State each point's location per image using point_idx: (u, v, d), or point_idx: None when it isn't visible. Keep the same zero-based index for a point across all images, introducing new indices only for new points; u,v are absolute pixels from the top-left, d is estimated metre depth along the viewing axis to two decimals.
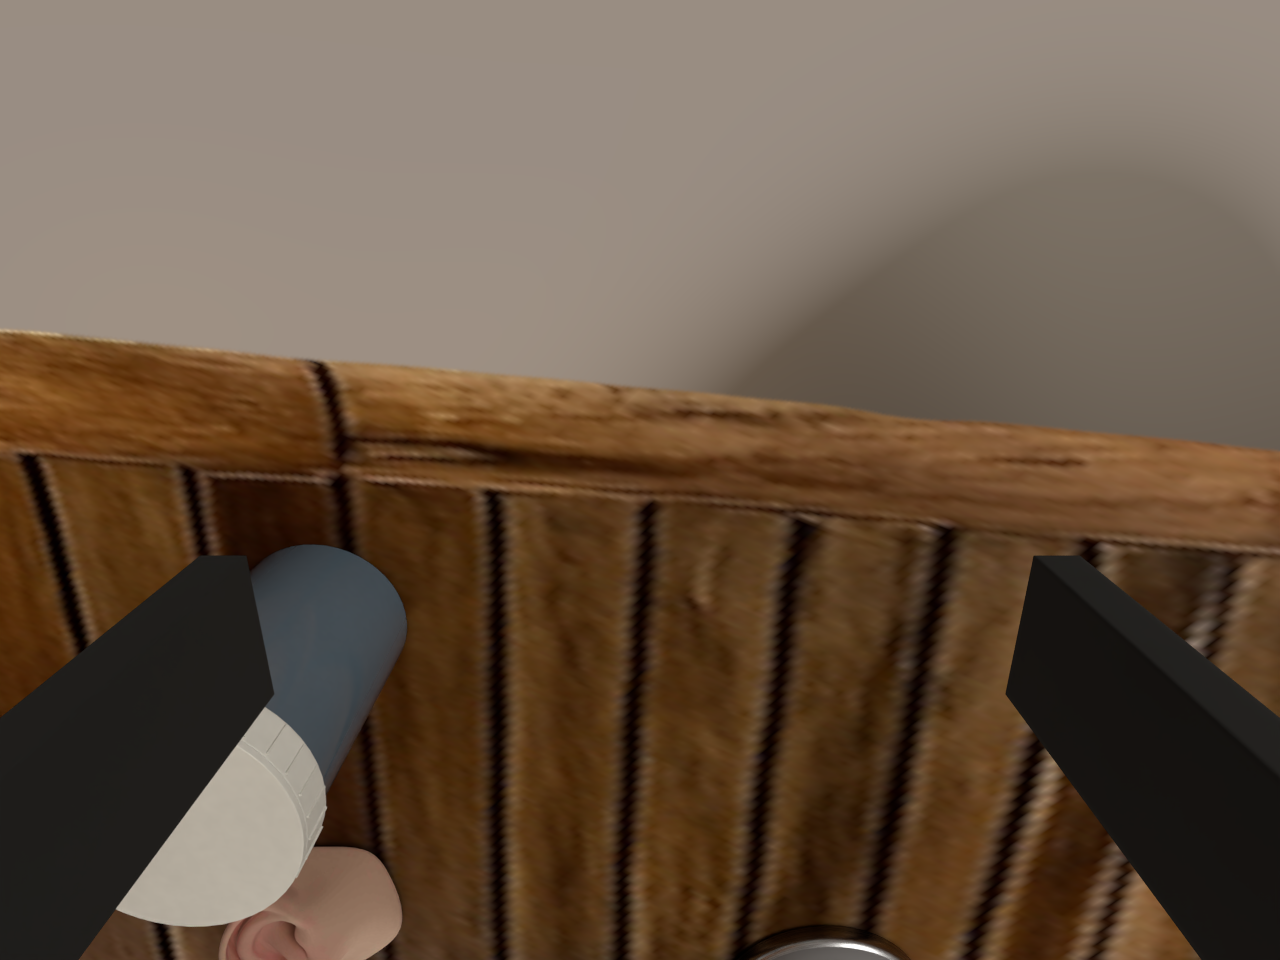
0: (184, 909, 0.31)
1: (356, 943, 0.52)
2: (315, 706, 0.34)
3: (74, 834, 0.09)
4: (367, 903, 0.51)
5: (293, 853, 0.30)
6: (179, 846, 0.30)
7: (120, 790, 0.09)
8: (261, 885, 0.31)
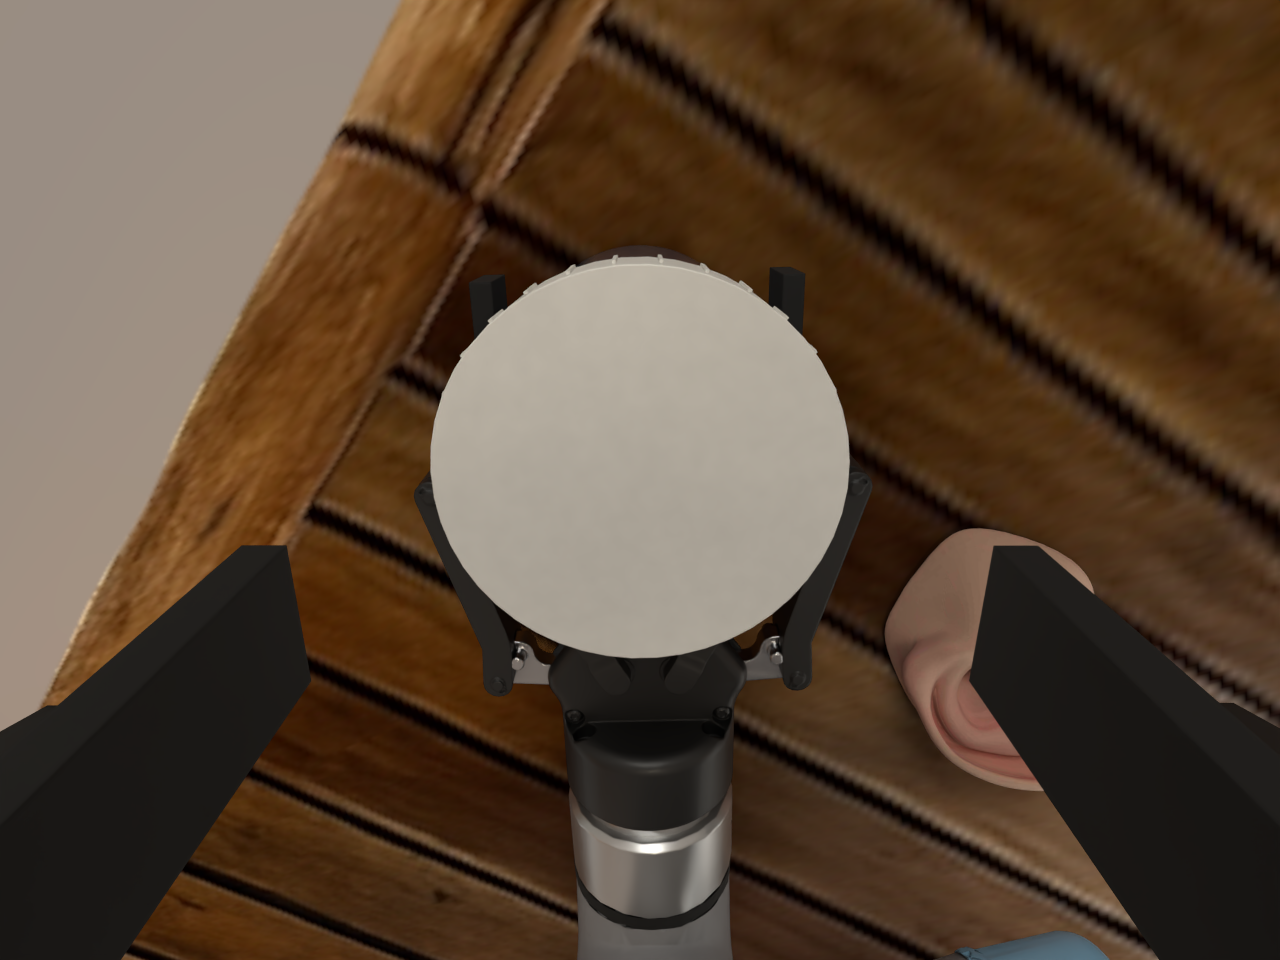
0: (776, 563, 0.20)
1: None
2: None
3: (138, 808, 0.09)
4: None
5: (787, 343, 0.18)
6: (677, 487, 0.19)
7: (177, 768, 0.10)
8: (808, 432, 0.19)
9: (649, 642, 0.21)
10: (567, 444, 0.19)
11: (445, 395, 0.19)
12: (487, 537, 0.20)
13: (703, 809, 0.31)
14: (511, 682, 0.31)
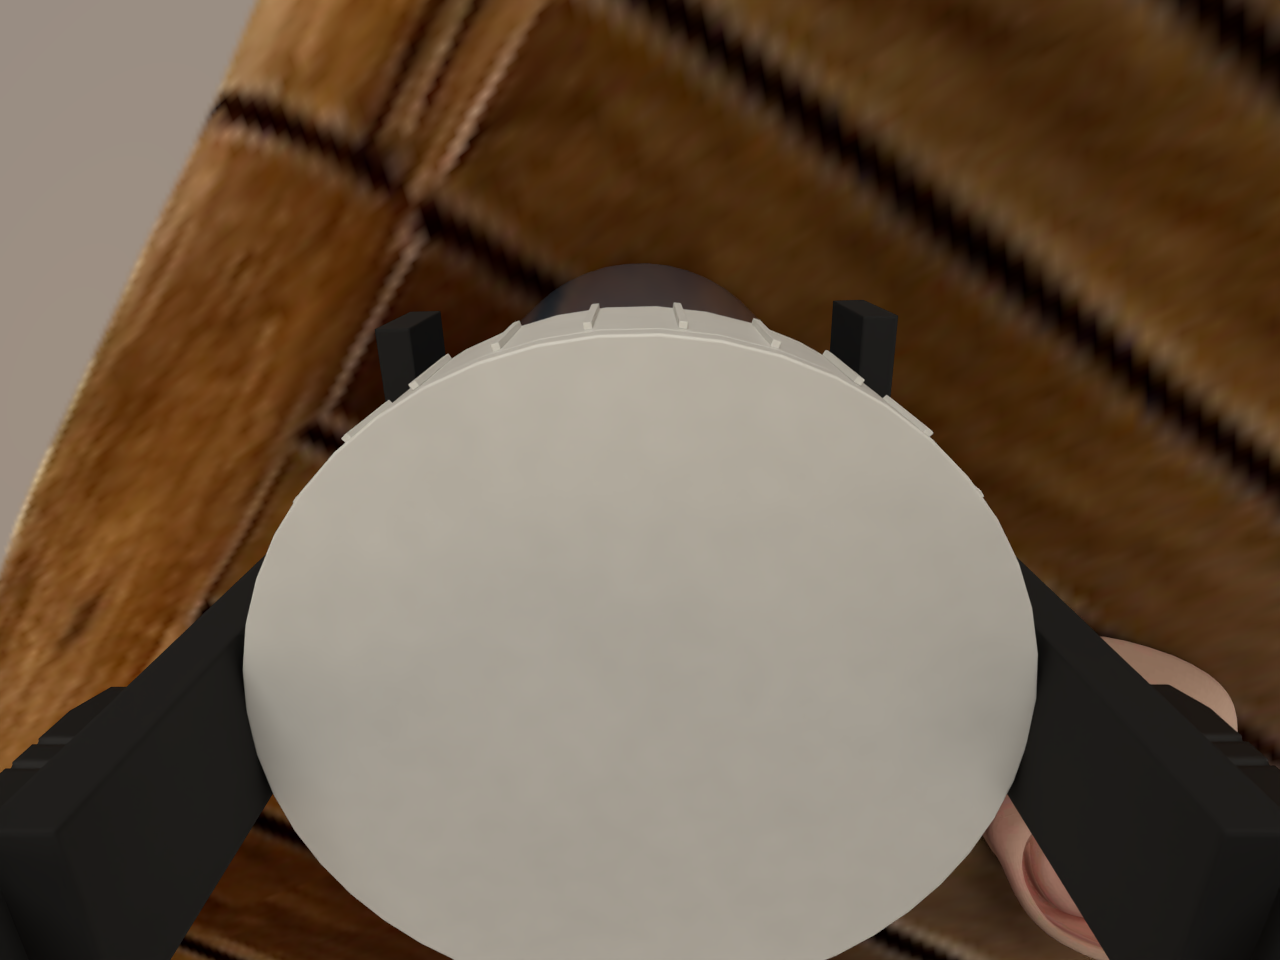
0: (887, 859, 0.11)
1: None
2: None
3: (204, 784, 0.09)
4: None
5: (934, 488, 0.09)
6: (710, 739, 0.10)
7: (237, 747, 0.10)
8: (963, 647, 0.10)
9: None
10: (501, 667, 0.10)
11: (261, 581, 0.10)
12: (360, 818, 0.11)
13: None
14: None
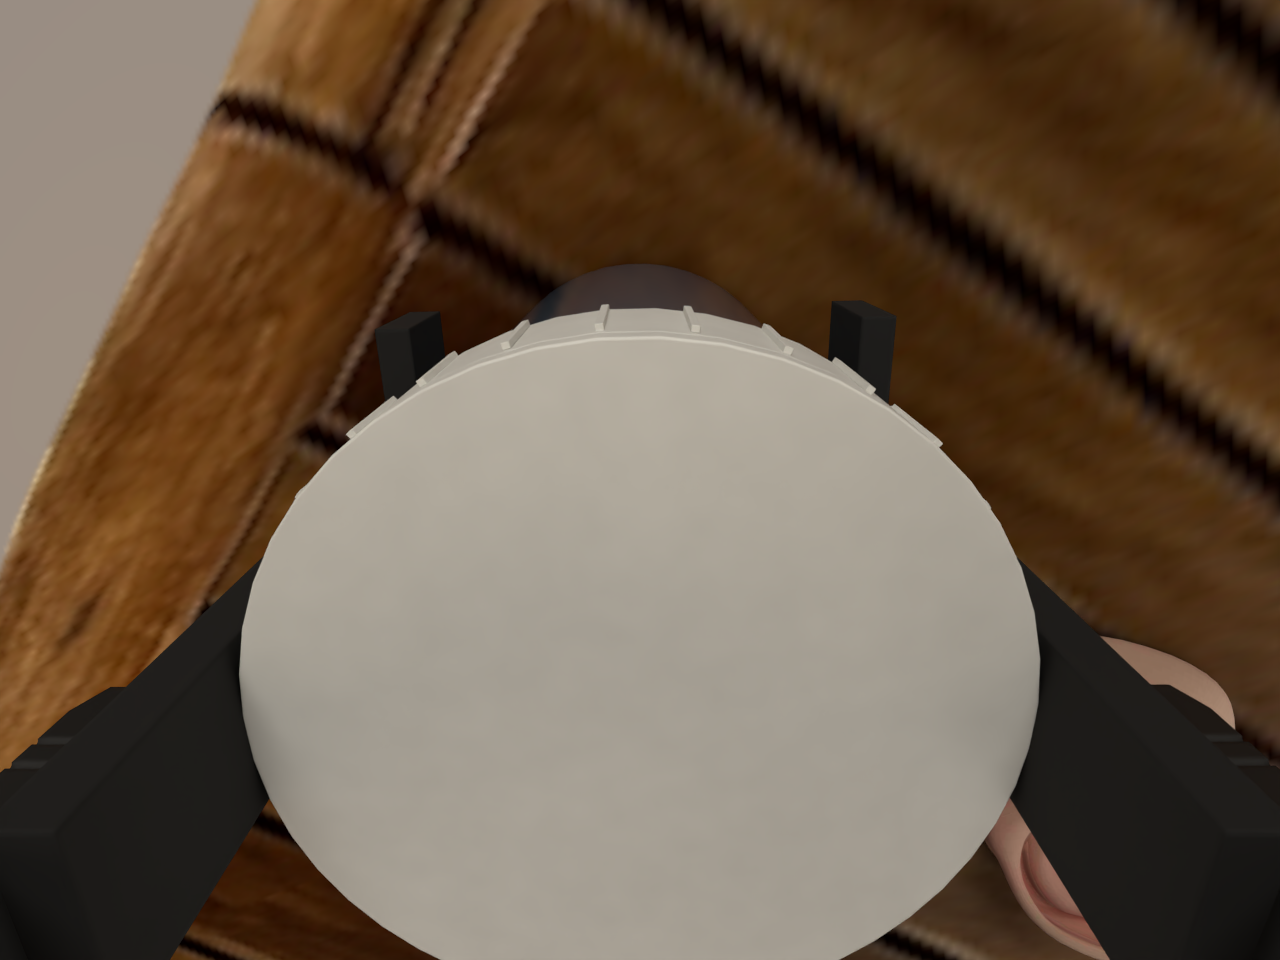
0: (875, 507, 0.09)
1: None
2: None
3: (203, 784, 0.09)
4: None
5: (382, 454, 0.09)
6: (664, 674, 0.10)
7: (237, 747, 0.10)
8: (578, 423, 0.09)
9: (990, 755, 0.10)
10: (556, 829, 0.11)
11: None
12: (707, 954, 0.12)
13: None
14: None
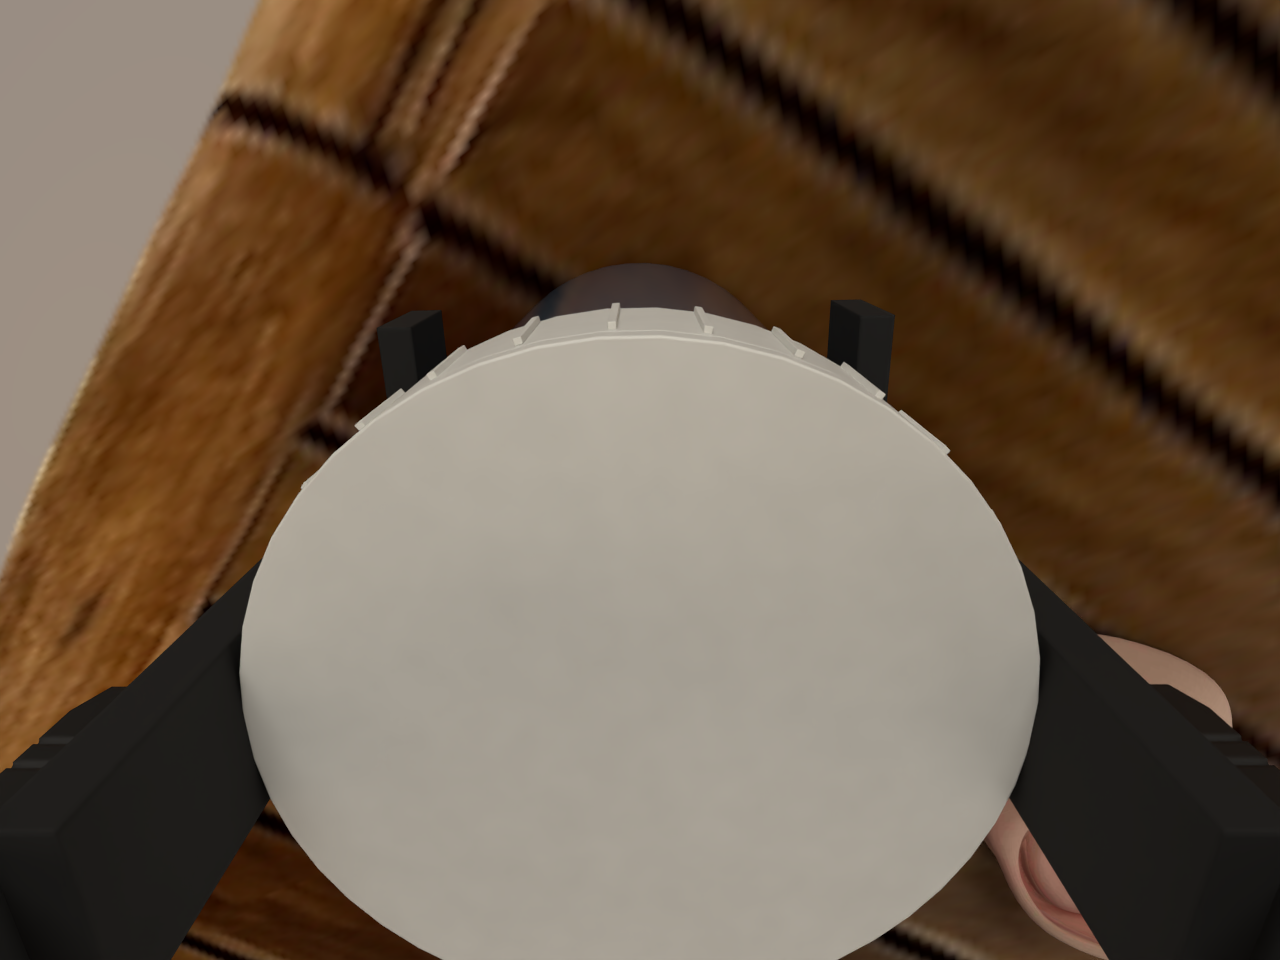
0: (398, 511, 0.09)
1: None
2: None
3: (204, 783, 0.09)
4: None
5: (345, 868, 0.11)
6: (574, 703, 0.10)
7: (237, 747, 0.10)
8: (316, 739, 0.10)
9: (728, 391, 0.09)
10: (746, 812, 0.11)
11: (905, 915, 0.11)
12: (962, 701, 0.10)
13: None
14: None
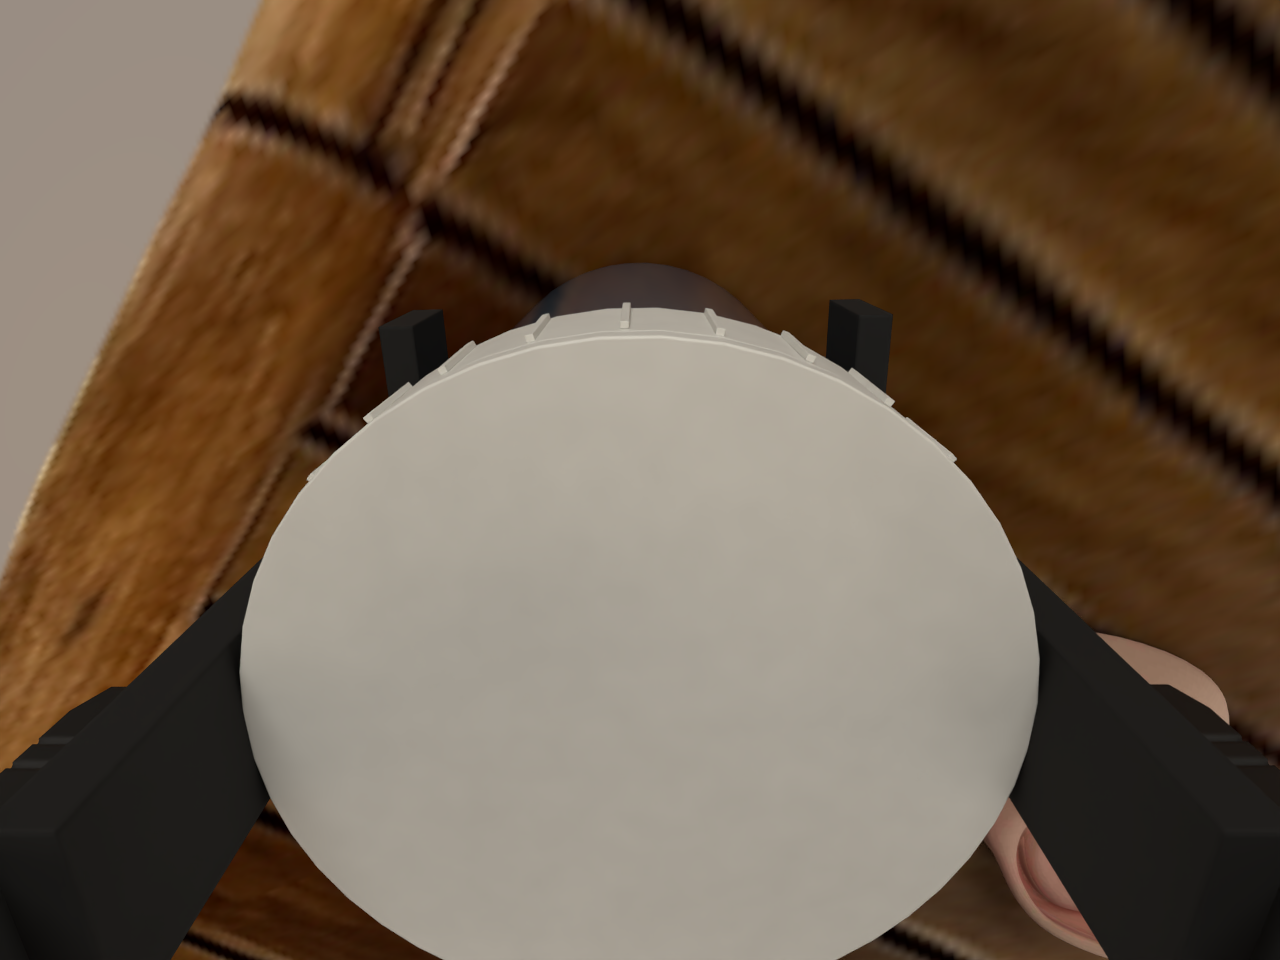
0: (395, 867, 0.11)
1: None
2: None
3: (204, 784, 0.09)
4: None
5: None
6: (599, 778, 0.11)
7: (237, 747, 0.10)
8: None
9: (285, 628, 0.10)
10: (763, 647, 0.10)
11: (967, 487, 0.09)
12: (646, 425, 0.09)
13: None
14: None
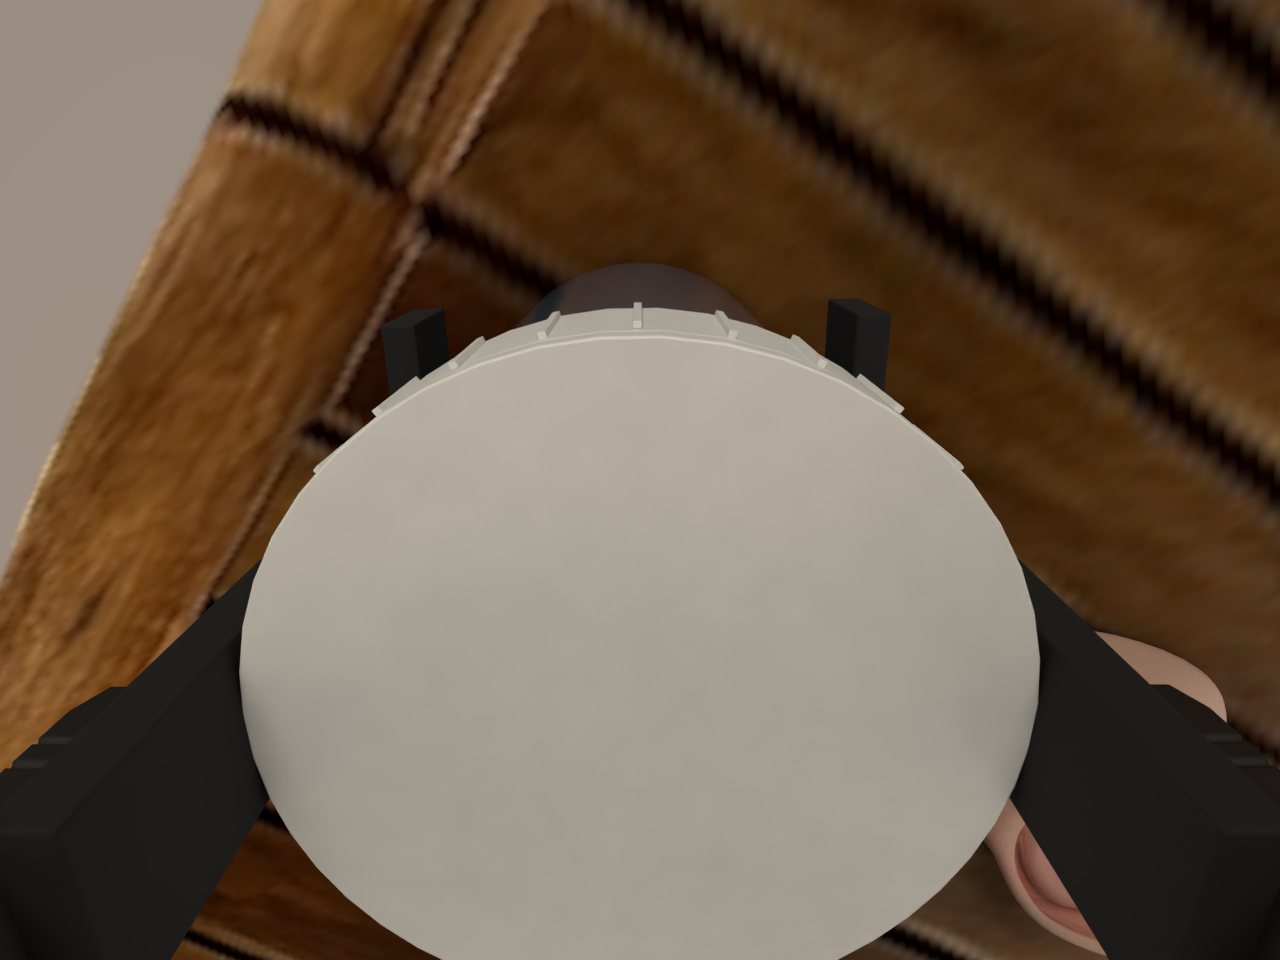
0: (767, 939, 0.12)
1: None
2: None
3: (204, 784, 0.09)
4: None
5: (1011, 653, 0.10)
6: (692, 770, 0.10)
7: (237, 747, 0.10)
8: (945, 792, 0.11)
9: (498, 957, 0.12)
10: (553, 618, 0.10)
11: (379, 423, 0.09)
12: (317, 692, 0.10)
13: None
14: None
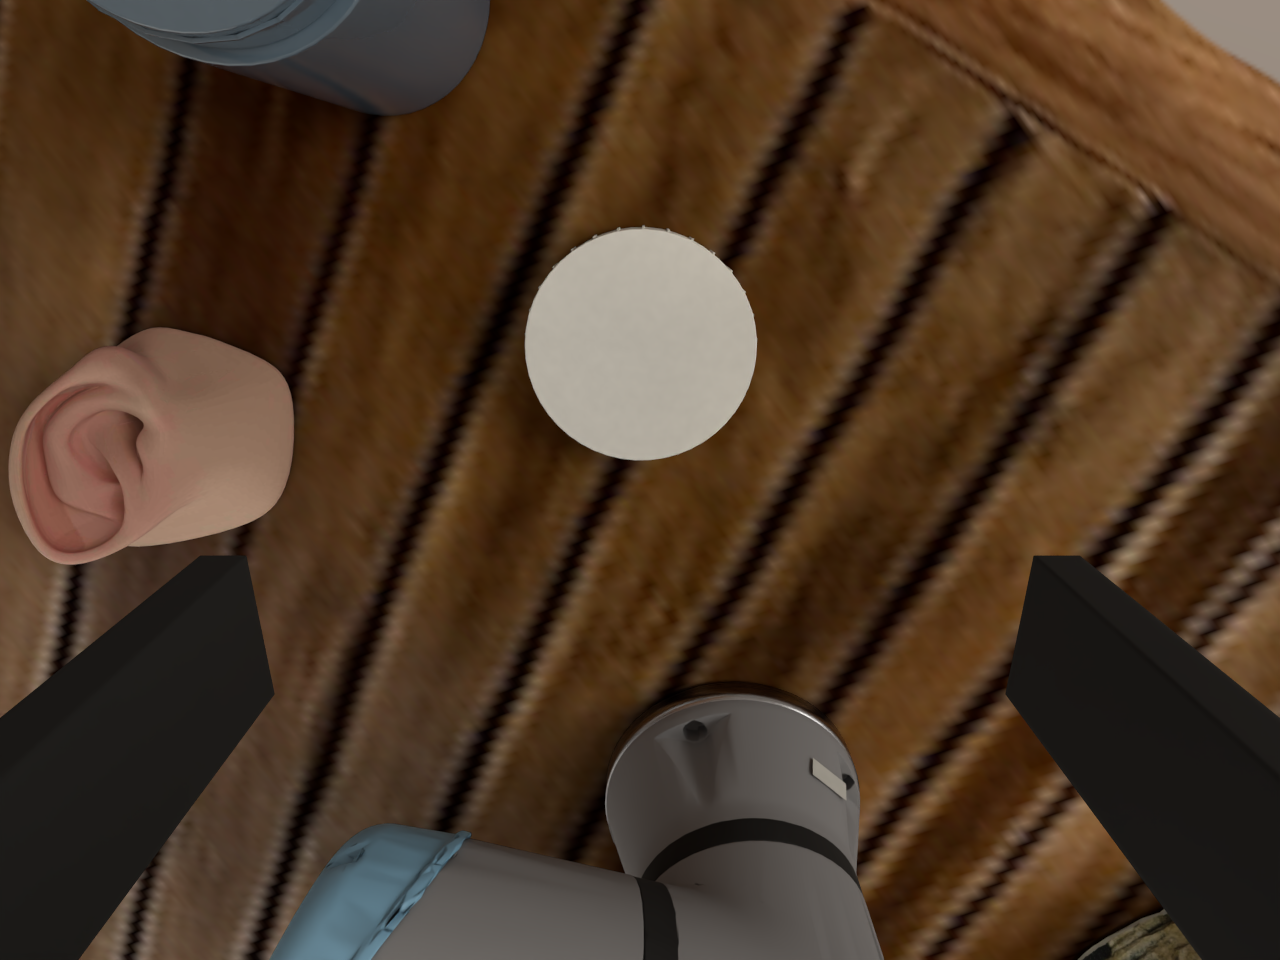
0: (731, 319, 0.34)
1: (212, 492, 0.38)
2: None
3: (74, 834, 0.09)
4: (252, 440, 0.37)
5: (627, 238, 0.33)
6: (657, 337, 0.35)
7: (121, 790, 0.09)
8: (676, 258, 0.33)
9: (724, 408, 0.36)
10: (600, 369, 0.35)
11: (541, 401, 0.36)
12: (615, 437, 0.36)
13: None
14: None
